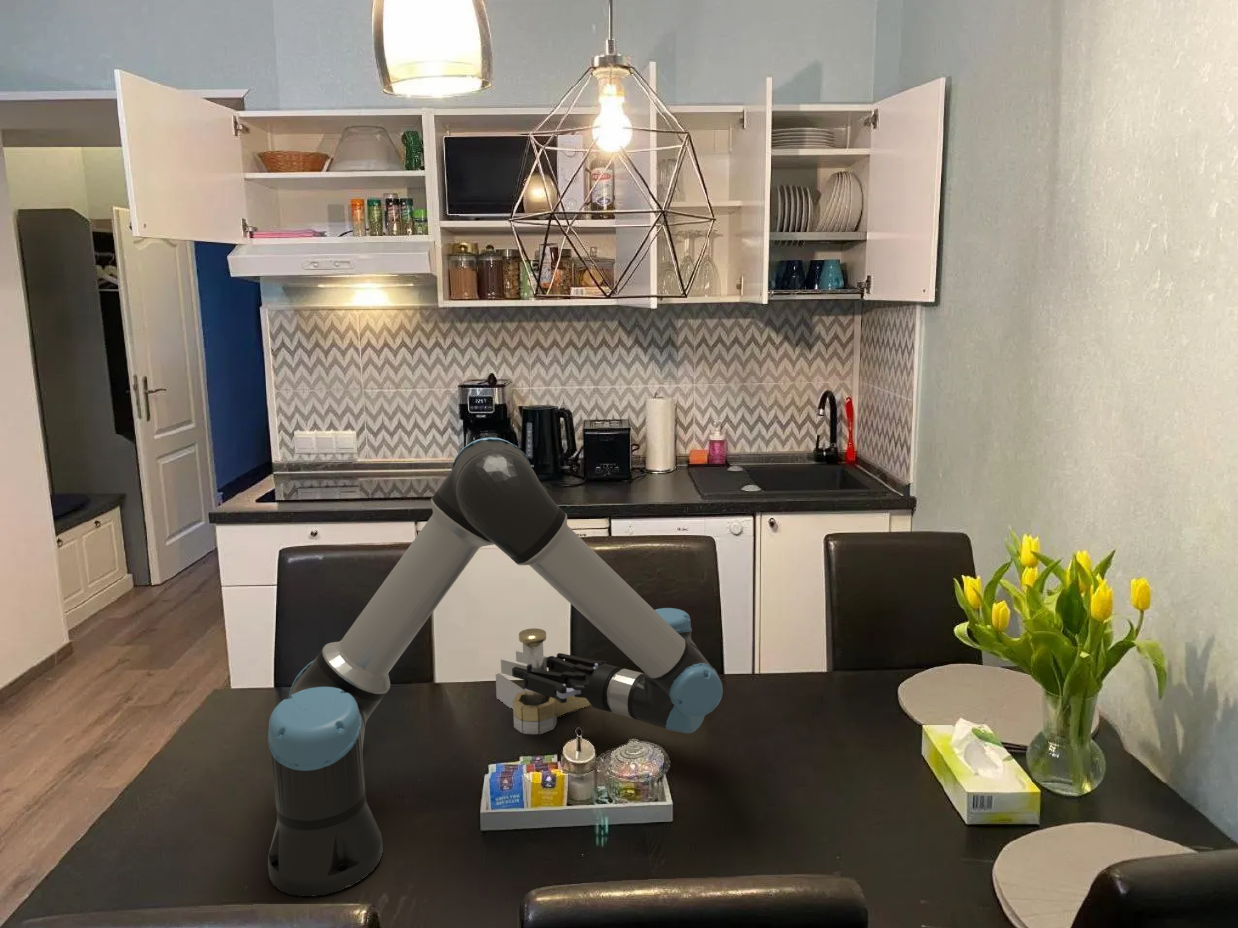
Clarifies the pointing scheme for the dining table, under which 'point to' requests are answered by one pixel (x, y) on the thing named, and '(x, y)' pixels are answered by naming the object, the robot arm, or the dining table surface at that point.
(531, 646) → the hinge pin
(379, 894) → the dining table surface
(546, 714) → the ring holder
